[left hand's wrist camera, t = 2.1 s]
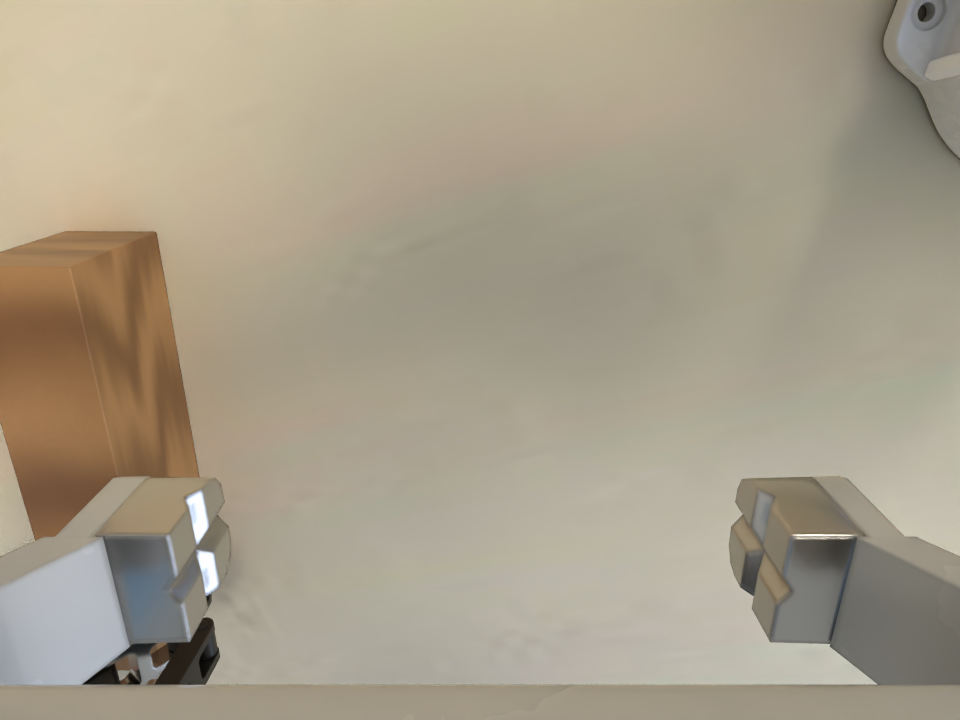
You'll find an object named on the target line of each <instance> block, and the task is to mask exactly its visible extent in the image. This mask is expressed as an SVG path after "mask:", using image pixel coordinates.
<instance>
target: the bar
mask: <svg viewBox="0 0 960 720" xmlns="http://www.w3.org/2000/svg"><path fill="white" fill-rule="evenodd" d="M0 423H1V426H2V429H3V433H4V436H5V440H6V443H7V446H8V450H9V453H10V457H11V460H12V463H13V467H14V470H15V474H16V477H17V480H18V484H19V487H20V490H21V494H22V497H23V501H24V504H25V507H26V511H27V514H28V518H29V521H30V524H31V528H32V531H33V535H34V538H35V541H36V540H38V539H40V538H43V537H55V536H56V535H57V534H58V533H59V532H60V531H61V530H62V529H63V528H64V527H65V526H66V525H67V524H68V523H69V522H70V521H71V520H72V519H73V518H74V517H75V516H76V515H77V514H78V513H79V512H80V511H81V510H82V509H83V508H84V507H85V506H86V505H87V504H88V503H89V502H90V501H91V500H92V499H93V498H94V497H95V496H96V495H97V494H98V493H99V492H100V491H101V490H102V489H103V488H104V487H105V486H106V485H107V484H108V483H109V482H110V481H111V480H112V479H113V478H117V477H122V476H150V477H199V473H198V467H197V461H196V456H195V450H194V444H193V439H192V433H191V427H190V422H189V416H188V410H187V405H186V399H185V393H184V388H183V382H182V376H181V371H180V365H179V359H178V353H177V348H176V342H175V336H174V331H173V325H172V319H171V314H170V308H169V302H168V297H167V291H166V285H165V280H164V274H163V268H162V263H161V257H160V251H159V246H158V240H157V234H156V232H84V231H65V232H62V233H59V234H55V235H52V236H49V237H46V238H43V239H40V240H37V241H33V242H30V243H27V244H24V245H21V246H18V247H15V248H12V249H8V250H5V251H2V252H0ZM166 644H167V643H158V644H156V645H155V646H153V647H152V649H151V651H150V653H151V654H152V653H154V652H155V651H157V650H158V649H160V648H161V647H163V646H164V645H166ZM115 665H116V669H117V670H130V665H129V661H128V657H127V656H125V657H124V658H122V659H120V660H119V661H117V662H116V663H115Z"/></svg>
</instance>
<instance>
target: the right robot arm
mask: <svg viewBox="0 0 960 720" xmlns="http://www.w3.org/2000/svg"><path fill="white" fill-rule="evenodd" d="M206 599H207V605H208V607H209V605H210V604H211V602H212V597H211V593H210V594H209V595H207V596H206ZM214 631H215V627H214V622H213V620H212V619H211V618H203V619H202V621H201V623H200V624H199V626H198V628H197V630H196V632H195V634H194V635H193V637H192V639H191V641H190V642H175V643H167V644H166V645H164V646H163V647H161V648H160V649H158V650H157V651H155V652H154V653H152V654H151V653H150V651H151V649H152V647H153V646H155V645H156V644H158V643H139V644H130V647H129V648H128V649H126V650H125V651H124V652H123V653H121V654H120V655H119V656H118V657H116V658H115V659H114V660H112V661H111V662H110V663H109V664H107V665H106V666H105V667H104V668H102V669H101V670H100V671H98V672H97V673H96V674H95V675H93V676H92V677H91V678H90V679H88V680H87V681H86V682H84V683H83V684H82V685H206V683H207V681H208V679H209V677H210V675H211V673H212V672H213V670H214V668H215V666H216V664H217V662H218V660H219V658H220V653H219V648H218V647H217V642H216V637H215V632H214ZM125 656H127V657H128V661H129V665H130V672H129V674H128V675H127V676H126V677H125V678H124V679H123V680H121V681H120V680H119V677H118V673H117V669H116V665H115V663H116V662H117V661H119V660H120V659H122V658H124V657H125ZM161 672H162V673H161ZM160 673H161V674H160ZM159 674H160V676H159V678H158V679H157V677H158V675H159Z"/></svg>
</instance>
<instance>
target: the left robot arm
mask: <svg viewBox="0 0 960 720" xmlns="http://www.w3.org/2000/svg"><path fill="white" fill-rule="evenodd" d="M922 5H924V6H925V8H926V16H925V18H924V19H923V20H922V21H920V20H919V18H918V10H919V8H920V7H921V6H922ZM883 48H884V52H885V54H886V56H887V58H888V60H889V61H890V62H891V64H892V65H893V66H894V67H895V68H896V69H897V70H898V71H899V72H900V73H902V74H903V75H904V76H905V77H906V78H907V79H909V80H910V81H911V82H912V83H914V84H915V85H916V86H917V87H918V89H919V90H920V92H921V94H922V96H923V98H924V100H925V102H926V105H927V108H928V110H929V113H930V116H931V118H932V121H933V123H934V125H935V127H936V129H937V131H938V133H939V134H940V136H941V138H942V139H943V140H944V142H945V143H946V145H947V146H948V147H949V148H950V149H951V150H952V152H953V153H955V154H956V155H957V156H958V157H959V158H960V0H898V1H897V3H896V6H895V8H894V11H893V14H892V16H891V19H890V21H889V24H888V26H887V29H886V32H885V35H884V41H883ZM224 503H225V501H224V496H223V491H222V487H221V483H220V482H219V481H218V480H217V479H216V478H204V477H150V476H122V477H117V478H113V479H112V480H111V481H110V482H109V483H108V484H107V485H106V486H105V487H104V488H103V489H102V490H101V491H100V492H99V493H98V494H97V495H96V496H95V497H94V498H93V499H92V500H91V501H90V502H89V503H88V504H87V505H86V506H85V507H84V508H83V509H82V510H81V511H80V512H79V513H78V514H77V515H76V516H75V517H74V518H73V519H72V520H71V521H70V522H69V523H68V524H67V525H66V526H65V527H64V528H63V529H62V530H61V531H60V532H59V533H58V534H57V535H56V536H55V537H43V538H40V539H38V540H36V541H34V542H31V543H29V544H27V545H25V546H22V547H20V548H18V549H16V550H13V551H11V552H9V553H7V554H5V555H2V556H0V720H960V556H958V555H955V554H953V553H951V552H949V551H946V550H944V549H942V548H940V547H937V546H935V545H933V544H931V543H929V542H926V541H924V540H922V539H920V538H917V537H905V536H904V535H903V534H902V533H901V532H900V531H899V530H898V529H897V528H896V527H895V526H894V525H893V524H892V523H891V522H890V521H889V520H888V519H887V518H886V517H885V516H884V515H883V514H882V513H881V512H880V511H879V510H878V509H877V508H876V507H875V506H874V505H873V504H872V503H871V502H870V501H869V500H868V499H867V498H866V497H865V496H864V495H863V494H862V493H861V492H860V491H859V490H858V489H857V488H856V487H855V486H854V485H853V484H852V483H851V482H850V481H849V480H848V479H847V478H844V477H841V476H821V477H787V478H749V479H742V480H741V482H740V485H739V487H738V490H737V495H736V501H735V503H736V504H737V506H738V507H739V509H740V511H741V512H742V514H743V515H742V516H741V517H740V518H739V519H738V520H737V521H736V522H735V523H734V524H733V525H732V526H731V533H730V540H729V552H730V563H731V566H732V569H733V573H734V576H735V578H736V580H737V582H738V584H739V586H740V587H741V588H742V589H744V590H745V591H747V592H748V593H750V594H751V595H753V596H754V599H753V605H752V610H753V612H754V613H755V615H756V617H757V619H758V621H759V623H760V624H761V626H762V628H763V630H764V632H765V634H766V635H767V637H768V639H769V641H770V642H784V643H820V644H830V647H831V648H833V649H834V650H835V651H836V652H838V653H839V654H840V655H841V656H843V657H844V658H845V659H847V660H848V661H849V662H850V663H852V664H853V665H854V666H855V667H857V668H858V669H859V670H861V671H862V672H863V673H864V674H866V675H867V676H868V677H869V678H871V679H872V680H873V681H874V682H876V683H877V684H878V685H82V684H83V683H84V682H86V681H87V680H88V679H90V678H91V677H92V676H93V675H95V674H96V673H97V672H98V671H100V670H101V669H102V668H104V667H105V666H106V665H107V664H109V663H110V662H111V661H112V660H114V659H115V658H116V657H118V656H119V655H120V654H121V653H123V652H124V651H125V650H126V649H128V648H129V647H130V644H139V643H175V642H190V641H191V639H192V637H193V635H194V634H195V632H196V630H197V628H198V626H199V624H200V623H201V621H202V619H203V617H204V615H205V613H206V612H207V610H208V605H207V599H206V596H207V595H209V594H210V593H212V592H213V591H215V590H216V589H218V588H219V587H220V585H221V584H222V582H223V580H224V578H225V576H226V574H227V569H228V565H229V560H230V556H231V538H230V532H229V526H228V525H227V524H226V523H225V522H224V521H223V520H222V519H221V518H220V517H219V516H218V515H217V514H218V512H219V511H220V509H221V507H222V506H223V504H224Z"/></svg>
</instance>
